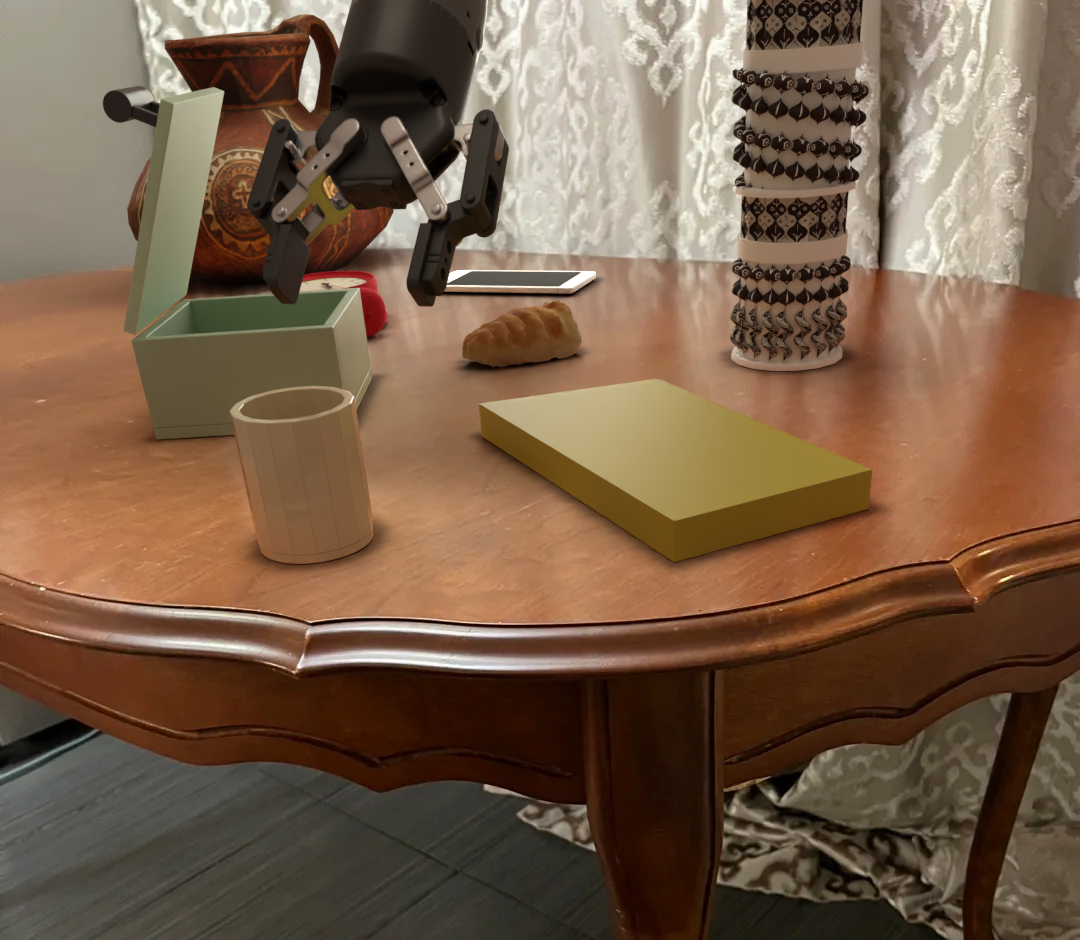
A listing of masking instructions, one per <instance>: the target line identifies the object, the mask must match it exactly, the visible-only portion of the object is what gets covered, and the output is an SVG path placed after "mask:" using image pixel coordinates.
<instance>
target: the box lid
mask: <svg viewBox="0 0 1080 940" xmlns="http://www.w3.org/2000/svg"><path fill="white" fill-rule="evenodd" d="M223 96H224V91H222V90H220V89H217V88H215V87H212V88H207V89H203V90H198V91H194V92H192V91H189V92H185V93H181V94H175V95H172V96H171V95H170V96H167V97H162V98H160V100H159V102H158V101H155V98H154V96H153V94H152V93H151V91H150V90H149V89H148V88H146V87H144V86H142V85H135V86H129V87H124V88H117V89H112V90H109V91H108V92H106V93H105V95H104V96H103V99H102V108H103V111H104V113H105V115H106V116H107V117H108V118H109V120H111V121H113V122H115V123H117V124H118V123H119V124H123V123H125V122H126V123H127V122H130V121H134V120H136V121H138V122H141V123H144V124H146V125H148V126H151V127H153V128H155V130H154V138H153V143H152V150H151V156H150V157H151V162H150V168H149V175H148V181H147V187H146V193H145V199H144V206H143V212H142V218H141V224H140V231H139V237H138V241H137V244H136V249H135V256H134V262H133V268H132V273H131V274H132V275H131V281H130V287H129V293H128V300H127V305H126V312H125V318H124V324H123V332H125V333H128V334H130V335H134V336H135V335H136V336H137V334H138V333H140V332H141V331H142V330H144V329H146V327H147V326H148V325H150V324H152V323H153V321H155V320H156V319H158V318H160V316H161V315H163V314H165V313H166V311H169V309H170V308H171V307H173V306H175V305H176V304H177V302H178V303H179V301H181V300H183V299H184V297H185V296H187V294H188V289H189V284H190V278H191V273H192V272H191V267H192V262H193V257H194V251H195V246H196V241H197V235H198V230H199V225H200V219H201V214H202V209H203V203H204V198H205V193H206V187H207V182H208V177H209V171H210V166H211V161H212V155H213V150H214V145H215V139H216V134H217V129H218V123H219V118H220V112H221V107H222V102H223Z"/></svg>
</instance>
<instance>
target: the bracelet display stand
mask: <svg viewBox="0 0 1080 940" xmlns="http://www.w3.org/2000/svg"><path fill="white" fill-rule="evenodd" d="M863 5H864V0H746V29H745V30H746V31H745V32H746V35H745V49H743V50H742V52H743V53H742V55H743V56H742V67H741V68H740V69H738V68H735V69H732V73H731V75H732V77H733V78H734V79H735V80H736V81H738V82H740V84H739V86H737V87H736V88H734V90H733V92H732V95H731V102H732V104H734V105H735V106H737V107H739V109H740V111H741V110H743V111H744V112H745V115H744V114H742V115H741V118H739V119H738V120H737V121H735V123H734V124H733V130H732V134H733V136H734V138H735V139H738V140H739V141H740V142H739V143H738V144H737V145H736V146H735V147H734V148H733V154H732V160H733V161H734V162H736V163H738V165H740V166H741V168H744V169H743V171H742V173H741V174H740V175H738V176H737V177H736V178H735V179H734V185H733V187H735V194H736V195H739V196H741V201H740V204H741V207H740V232H739V234H738V236H737V259H735V260H734V261H733V263H732V267H731V271H732V273H733V274H734V275H737V276H739V279H738V280H735V282H733V284H732V288H731V294H732V295H733V296H735V297H737V298H738V301H737V303H736V304H735V305H734V306H732V309H731V312H730V321H732V323H733V324H734V327H733V328H732V329H731V332H730V334H729V340H730V341H731V343H732V344H733V345H734V347H733V348H732V350H731V355H730V360H731V361H733V363H735V364H736V365H738V366H742V367H745V368H749V369H753V370H759V371H770V372H799V371H807V370H815V369H820V368H824V367H827V366H831V365H834V364H836V363H838V361H840V360H841V359H843V347H842V346H841V345H840V343H842V342H843V341H844V340H845V339H846V327H845V326H844V325H843V324H842V322H843V321H844V320H846V319H847V318H848V306H847V305H846V304H845V303H844V302H843V301H842V299H841V297H842V295H843V294H846V293H847V292H848V291H849V290H850V289H849V288H850V285H849V281H848V279H846V278H845V277H843V276H842V275H843V274H845V273H846V272H847V271H849V270H850V269H851V266H852V264H851V258H850V257H849V256H847V253H848V252H847V250H848V237H849V231H848V229H847V217H848V205H849V204H848V203H849V193H850V191H853V190H855V189H856V185H857V183H856V181H858V180H859V178H860V172H859V171H858V170H856V168H854V167H853V166H852V163H853V160H855V159H856V158H857V157H859V156H860V155H861V154H862V153H863V148H862V146H861V145H860V144H859V143H856V141H855V139H854V138H853V139H852V138H851V137H852V128H853V127H854V128H855V129H854V131H857V128H858V127H859V126H861V125H862V124H864V123H865V122H866V121H867V118H868V117H867V114H866V113H865V112H864V111H863V110H861V109H860V108H859V106H857V108H856V109H855V107H854V102H855V104H856V105H858V104H859V103H860V102H861V101H862V100H864V99H865V98H866V97H868V95H869V93H870V89H869V87H868V86H867V85H865V84H864V83H862V80H861V78H859V79H860V80H859V81H858V80H857V78H856V72H857V68H861V66H862V56H863V41H862V40H861V32H862V23H863V22H862V21H863Z"/></svg>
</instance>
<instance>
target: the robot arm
mask: <svg viewBox="0 0 1080 940" xmlns="http://www.w3.org/2000/svg"><path fill="white" fill-rule="evenodd" d="M488 3H489V0H351V2H350V6H349V10H348V13H347V17H346V20H345V25H344V28H343V31H342V36H341V39H340V44H339V46H338V48H339V50H338V54H337V58H336V62H335V65H334V69H333V73H332V77H331V88H330V111H329V113H328V115H327V117H326V119H325V120H324V121H323V123H322V124H321V125H320V126H319V128H318V130H317V131H297V130H295V129H294V127H293V126H292V124H291V123H290V121H289V120H287V119H280V120H278V121H276V122H275V123H274V125H273V126H272V129H271V132H270V135H269V138H268V141H267V144H266V147H265V150H264V153H263V156H262V159H261V162H260V165H259V168H258V171H257V174H256V177H255V180H254V183H253V186H252V189H251V192H250V195H249V198H248V201H247V208H248V210H249V211H250V212H251V213H252V214H253V216H254V217H255V218H256V219H257V221H258V222H259V223H260V224H261V226H262V227H263V228H264V229H265V231H266V232H267V233H268V234H269V235H270V237H271V240H270V244H269V248H268V251H267V256H266V259H265V263H264V266H263V270H262V273H263V279H264V280H265V282H266V283H265V284H266V286H267V288H268V290H269V291H270V293H271V294H273V295H274V296H275V297H276V298H277V299H278V300H279V301H280V303H282V304H295V303H296V302H297V299H298V295H299V292H300V288H301V284H302V280H303V276H304V272H305V269H306V265H307V261H308V257H309V253H310V248H309V246H308V245H309V244H310V243H311V242H312V241H313V240H314V239H315V238H316V237H317V236H318V235H319V234H320V233H321V232H322V231H323V230H324V229H325V228H326V227H327V226H328V225H338V224H339V223H340V222H341V221H342V220H343V219H344V218H345V217H346V216H347V215H348V214H349V213H350V212H351V211H352V210H353V209H354V208H356V210H370V209H374V208H377V207H381V206H382V207H387V208H390V209H394V210H407V207H408V205H410V204H413V203H414V202H416V201H417V200H418V202H419V204H420V206H421V207H422V209H423V211H424V213H425V215H426V217H427V222H420V223H419V225H418V231H417V235H416V238H415V243H414V247H413V251H412V255H411V259H410V264H409V268H408V272H407V276H406V283H405V284H406V289H407V291H408V293H409V295H410V296H411V298H412V299H413V301H414V302H415V303H416V305H417V306H418V307H423V308H425V307H427V308H429V307H430V308H431V307H433V306H434V305H435V303H436V298H437V297H442V295H443V293H444V290H445V289H446V286H447V282H448V277H449V274H450V273H451V272H450V271H451V268H452V264H453V262H454V261H453V260H454V256H455V253H456V248H457V247H458V246H460V245H461V243H462V242H463V240H464V239H465V238H467V237H470V236H473V235H477V236H478V237H479V238H483V239H484V238H488V237H490V236H491V235H493V234H494V233H495V232H496V229H497V225H498V219H499V214H500V213H499V212H500V207H501V201H502V194H503V190H504V189H503V188H504V182H505V177H506V172H507V170H506V169H507V164H508V158H509V152H510V146H509V144H508V142H507V140H506V137H505V134H504V132H503V129H502V126H501V125H500V123H499V121H498V119H497V116H496V115H495V113H494V111H493V110H492V109H489V108H488V109H486V108H485V109H482V110H480V111H479V112H477V113H476V114H475V115H474V117H473V120H472V123H464V120H465V115H466V110H467V107H468V102H469V98H470V93H471V90H472V85H473V81H474V78H475V73H476V69H477V65H478V61H479V56H480V53H481V50H482V49H483V45H484V35H485V30H486V26H487V25H486V23H487V17H488ZM461 153H462V155H463V157H464V159H465V160H466V162H465V167H464V172H463V178H462V185H461V190H460V196H459V199H456V200H454V201H451V202H448V203H447V201H446V199H445V198H444V196H443V194H442V192H441V191H440V189H439V186H438V185H437V182H436V181H437V180H438V179H439V178H440V177H441V176H442V175H443V174H444V173H445V172H446V171H447V170H448V168H449V167H450V166H452V164H453V163H454V162H455V161H456V160H457V159H458V158H459V156H460V154H461ZM329 175H330V178H331V180H332V182H333V184H334V185H335V187H336V188H337V190H338V191H339V192H338V193H337V194H336V195H335V196H334V197H333V198H331V199H329V198H328V196H327V195H326V193H325V192H324V190H323V183H324V181H325V179H326V178H327V177H328V176H329ZM273 196H274V199H273ZM272 199H273V201H272ZM312 202H313V209H312V210H311V211H310V212H309V213H308V214H307V215H306V216H305V217H304V218H303V219H302V220H301V219H300V218H299V217H298V216H299V215H300V214H301V213H302V212H303V211H304V210H305V209H306V208H307V207H308V206H309V205H310V204H311V203H312Z"/></svg>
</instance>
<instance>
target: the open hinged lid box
mask: <svg viewBox="0 0 1080 940" xmlns="http://www.w3.org/2000/svg"><path fill="white" fill-rule="evenodd" d="M131 344H132V348H133V352H134V356H135V361H136V365H137V368H138V374H139V376H140V381H141V384H142V388H143V392H144V397H145V400H146V404H147V409H148V412H149V416H150V420H151V423H152V427H153V432H154V436H155V439H156V440H157V441H159V440H175V439H176V440H177V439H188V438H189V439H191V438H192V439H193V438H206V437H208V438H209V437H222V436H234V431H233V426H232V422H231V417H230V410H231V409H232V407H233V406H234V405H235V404H236V403H238V402H240V401H242V400H244V399H246V398H248V397H250V396H254V395H257V394H261V393H264V392H268V391H272V390H278V389H284V388H290V387H303V386H327V387H336V388H340V389H344V390H348V391H349V392H350V393H351V394H352V395H353V396H354V399H355V405H356V412H357V411H358V409H359V407H360V405H361V403H362V401H363V398H364V396H365V394H366V392H367V390H368V388H369V386H370V384H371V382H372V380H373V372H372V365H371V357H370V352H369V344H368V337H367V336H366V329H365V322H364V315H363V308H362V301H361V294H360V288H348V289H333V290H318V291H304V292H299V295H298V299H297V302H296V303H295V304H282V303H280V301H279V300H278V299H277V298H276V297H275V296H274V295H273V293H261V294H260V293H259V294H246V295H231V296H217V297H216V296H215V297H214V296H213V297H202V298H201V297H200V298H187V299H185V298H183V299H181V300H180V302H178V303H176V304H175V305H174V307H173V306H172V308H171V309H170V310H167V312H165V313H164V314H162V316H161V317H158V318H157V320H156V321H155V322H152V323H151V325H149V326H148V327H147V328H145V329H143V331H142V332H140V333H139V334H138V335H136V337H134V338H133V339H132V340H131Z"/></svg>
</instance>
